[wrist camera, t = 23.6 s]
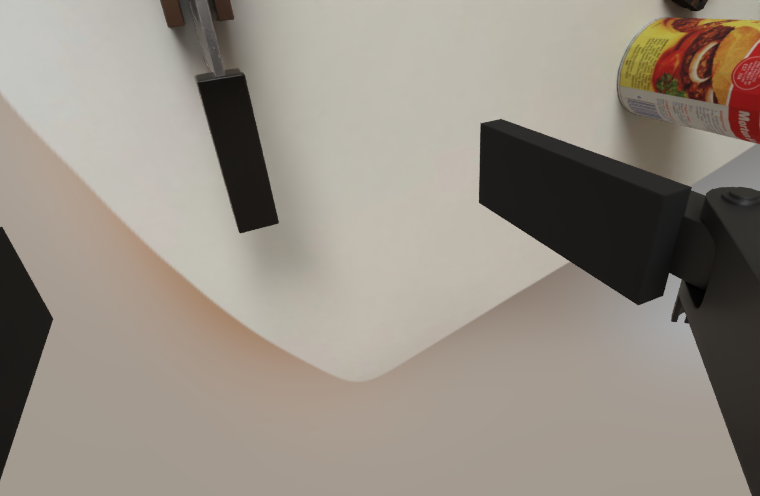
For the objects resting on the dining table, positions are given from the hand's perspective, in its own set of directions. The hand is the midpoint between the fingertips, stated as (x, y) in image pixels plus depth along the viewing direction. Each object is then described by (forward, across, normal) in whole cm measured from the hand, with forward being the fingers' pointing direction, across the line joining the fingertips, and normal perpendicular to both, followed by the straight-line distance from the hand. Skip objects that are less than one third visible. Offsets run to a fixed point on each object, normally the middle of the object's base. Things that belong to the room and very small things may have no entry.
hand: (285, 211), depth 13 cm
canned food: (+19, +36, -3) cm, 41 cm away
